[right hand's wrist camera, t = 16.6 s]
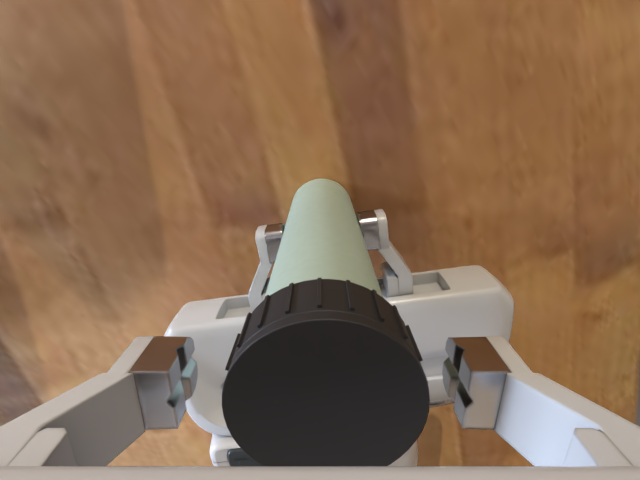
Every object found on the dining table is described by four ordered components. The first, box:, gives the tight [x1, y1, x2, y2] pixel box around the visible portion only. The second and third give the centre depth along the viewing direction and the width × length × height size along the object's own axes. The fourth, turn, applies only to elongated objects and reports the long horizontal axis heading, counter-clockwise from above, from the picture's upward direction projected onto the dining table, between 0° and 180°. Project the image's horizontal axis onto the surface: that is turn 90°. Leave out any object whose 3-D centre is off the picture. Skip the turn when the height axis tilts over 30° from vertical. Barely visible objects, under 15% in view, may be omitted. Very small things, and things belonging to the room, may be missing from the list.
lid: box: [222, 278, 430, 466], centre depth 10 cm, size 5×5×2 cm
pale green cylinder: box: [264, 179, 383, 299], centre depth 17 cm, size 4×4×18 cm
